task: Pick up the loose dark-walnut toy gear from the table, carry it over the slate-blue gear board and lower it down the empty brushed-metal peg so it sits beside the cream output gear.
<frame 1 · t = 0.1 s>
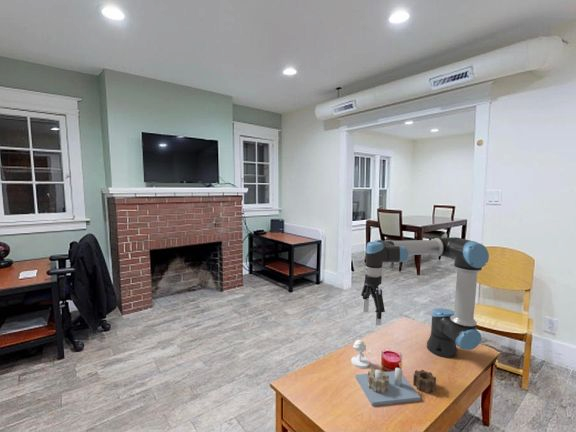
hand: (371, 318, 141), 28 cm above the table, fingers open, 13 cm apart
figurine: (360, 363, 152), on the table
output gear: (377, 389, 132), resting on gear board
walnut gear: (424, 386, 135), on the table
gear board: (386, 388, 133), on the table
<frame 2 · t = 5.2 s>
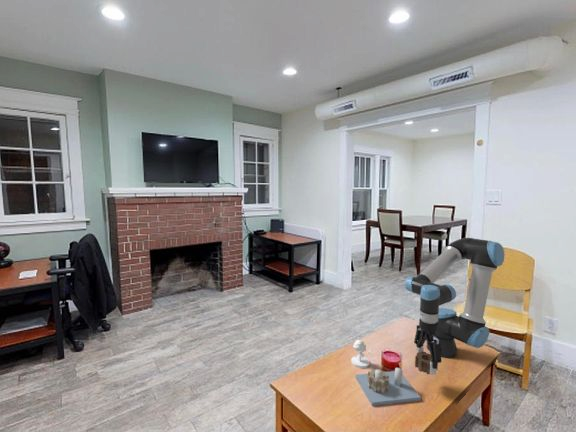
hand: (426, 367, 134), 9 cm above the table, fingers closed on walnut gear, 9 cm apart
walnut gear: (426, 367, 134), point 9 cm above the table, touching gripper
everything else where it was.
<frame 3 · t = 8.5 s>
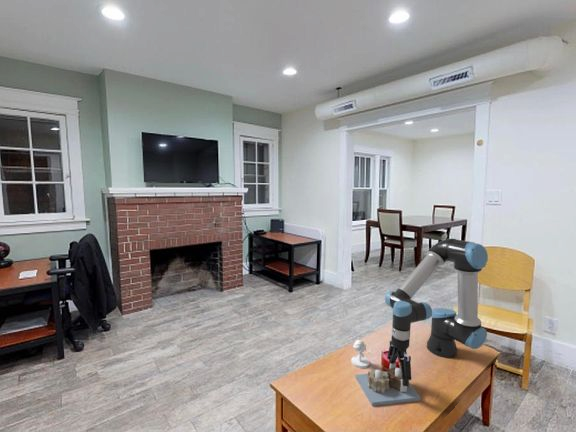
hand: (397, 383, 133), 2 cm above the table, fingers closed on gear board, walnut gear, 9 cm apart
walnut gear: (397, 384, 133), point 1 cm above the table, touching gear board, gripper
everything else where it was.
when the fingers open (2 cm above the table, at t = 9.7 s): walnut gear stays where it is, resting on gear board.
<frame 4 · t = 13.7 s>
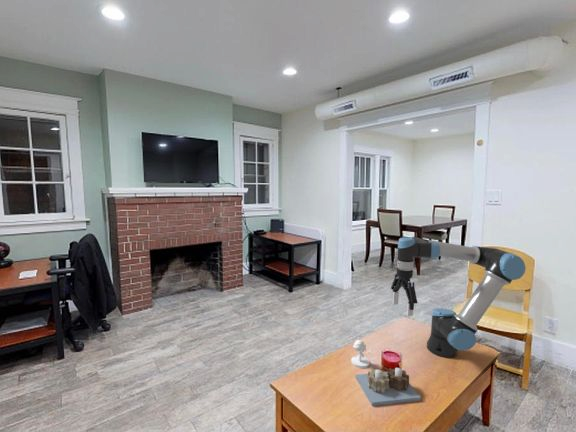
hand: (402, 309, 149), 29 cm above the table, fingers open, 13 cm apart
walnut gear: (397, 384, 133), point 1 cm above the table, touching gear board
everything else where it was.
at the end: walnut gear 0.2 cm from the target spot on the gear board, point 1.5 cm above the gear board's base; walnut gear tilted 0°; the gripper is holding nothing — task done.
